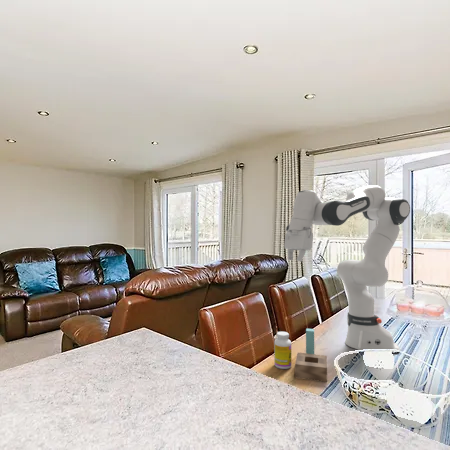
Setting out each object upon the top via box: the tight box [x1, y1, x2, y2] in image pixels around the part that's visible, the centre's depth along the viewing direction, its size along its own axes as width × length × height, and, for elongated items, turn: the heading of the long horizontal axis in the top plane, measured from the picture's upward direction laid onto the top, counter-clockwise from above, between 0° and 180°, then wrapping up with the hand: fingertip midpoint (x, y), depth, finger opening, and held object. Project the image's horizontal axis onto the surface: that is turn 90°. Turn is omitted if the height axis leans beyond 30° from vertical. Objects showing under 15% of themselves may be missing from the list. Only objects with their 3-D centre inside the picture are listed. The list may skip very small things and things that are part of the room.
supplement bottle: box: [273, 331, 292, 370], centre depth 124 cm, size 7×7×13 cm
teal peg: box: [305, 328, 315, 354], centre depth 131 cm, size 3×3×12 cm
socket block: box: [294, 352, 328, 383], centre depth 118 cm, size 11×11×5 cm
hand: (294, 260), depth 129 cm, fingers open, 8 cm apart
